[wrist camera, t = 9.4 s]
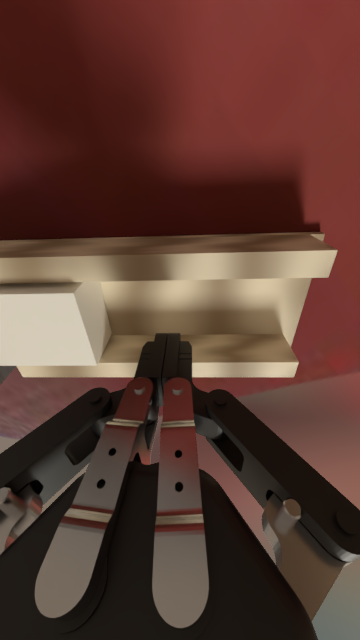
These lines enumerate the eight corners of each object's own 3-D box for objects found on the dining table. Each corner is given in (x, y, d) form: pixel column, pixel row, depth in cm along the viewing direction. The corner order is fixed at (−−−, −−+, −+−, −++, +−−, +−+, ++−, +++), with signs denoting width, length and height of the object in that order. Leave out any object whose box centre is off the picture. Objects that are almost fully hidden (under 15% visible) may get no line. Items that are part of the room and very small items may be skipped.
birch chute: (320, 231, 16) (375, 258, 11) (288, 343, 21) (315, 392, 17) (-39, 241, 17) (-124, 269, 12) (18, 345, 23) (-26, 391, 18)
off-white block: (95, 268, 17) (73, 293, 14) (111, 333, 20) (97, 365, 17) (-8, 270, 17) (-55, 295, 14) (24, 333, 21) (-7, 365, 17)
